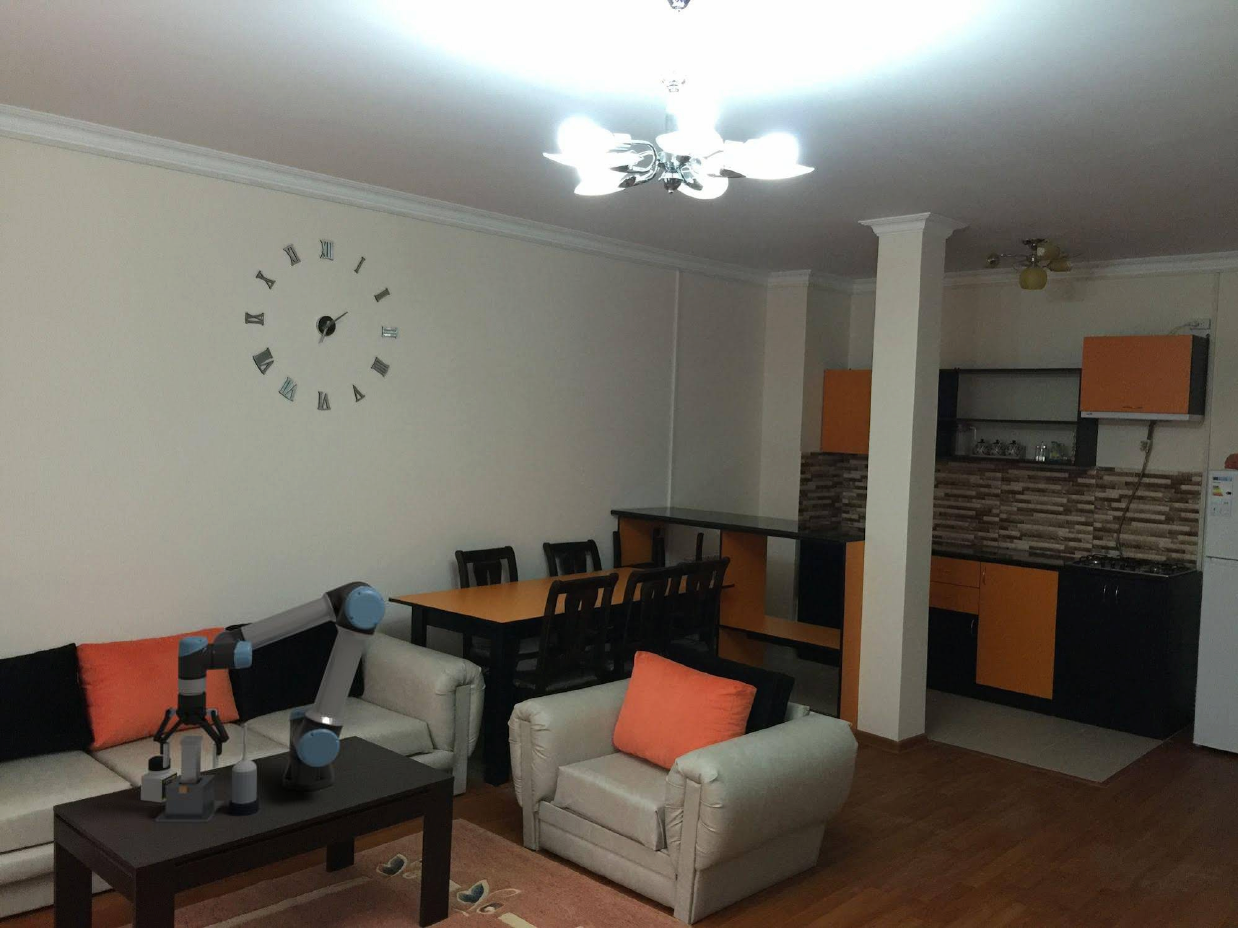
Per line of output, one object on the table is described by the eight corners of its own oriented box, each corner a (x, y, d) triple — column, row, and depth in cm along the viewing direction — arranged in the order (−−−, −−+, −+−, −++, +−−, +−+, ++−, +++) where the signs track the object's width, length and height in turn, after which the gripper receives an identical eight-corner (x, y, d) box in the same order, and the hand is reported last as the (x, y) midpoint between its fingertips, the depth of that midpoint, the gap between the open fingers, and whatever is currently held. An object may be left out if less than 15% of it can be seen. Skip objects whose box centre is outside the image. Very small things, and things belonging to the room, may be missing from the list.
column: (201, 809, 294) (202, 735, 293) (195, 815, 289) (196, 740, 288) (184, 808, 293) (185, 735, 292) (179, 815, 289) (180, 740, 288)
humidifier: (260, 804, 299) (262, 719, 298) (256, 815, 291) (258, 727, 290) (231, 805, 297) (232, 720, 296) (226, 816, 289) (227, 728, 288)
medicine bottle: (162, 802, 298) (162, 761, 297) (140, 800, 299) (140, 759, 299) (177, 794, 305) (178, 754, 304) (156, 791, 306) (156, 752, 306)
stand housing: (223, 803, 299) (224, 771, 298) (207, 822, 285) (207, 788, 284) (174, 803, 298) (174, 771, 297) (155, 821, 284) (155, 788, 283)
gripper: (241, 689, 294) (240, 762, 295) (151, 687, 293) (150, 761, 294) (233, 696, 287) (231, 771, 288) (141, 694, 285) (140, 770, 286)
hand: (190, 766), depth 291 cm, fingers open, 13 cm apart
